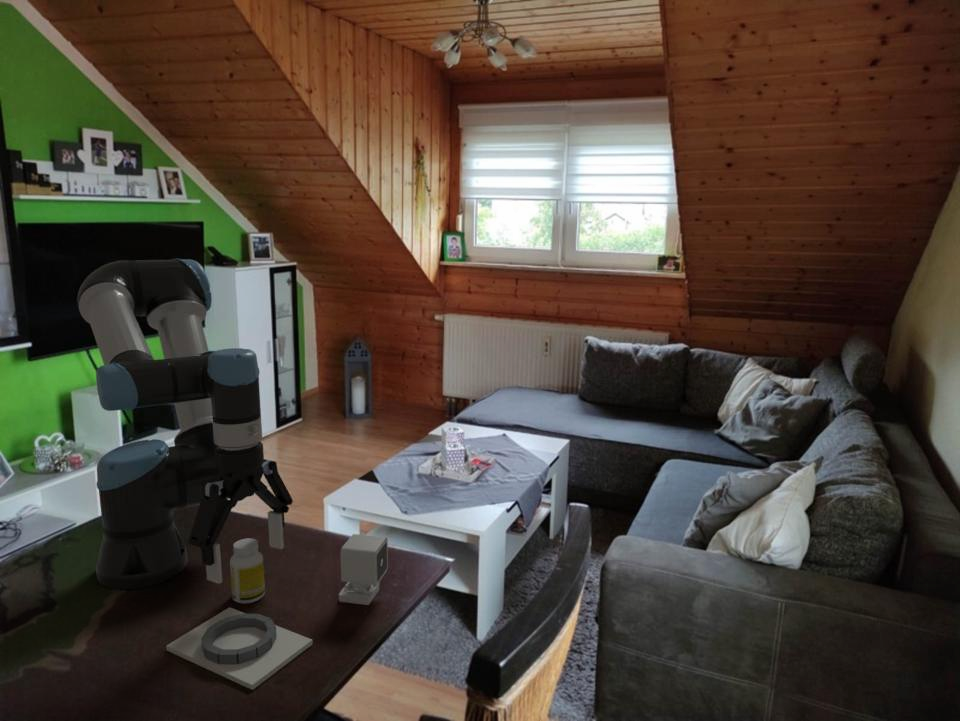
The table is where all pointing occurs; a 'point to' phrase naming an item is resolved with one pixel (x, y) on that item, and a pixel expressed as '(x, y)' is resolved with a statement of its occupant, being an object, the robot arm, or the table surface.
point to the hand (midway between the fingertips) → (247, 563)
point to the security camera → (363, 567)
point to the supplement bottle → (247, 572)
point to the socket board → (240, 646)
